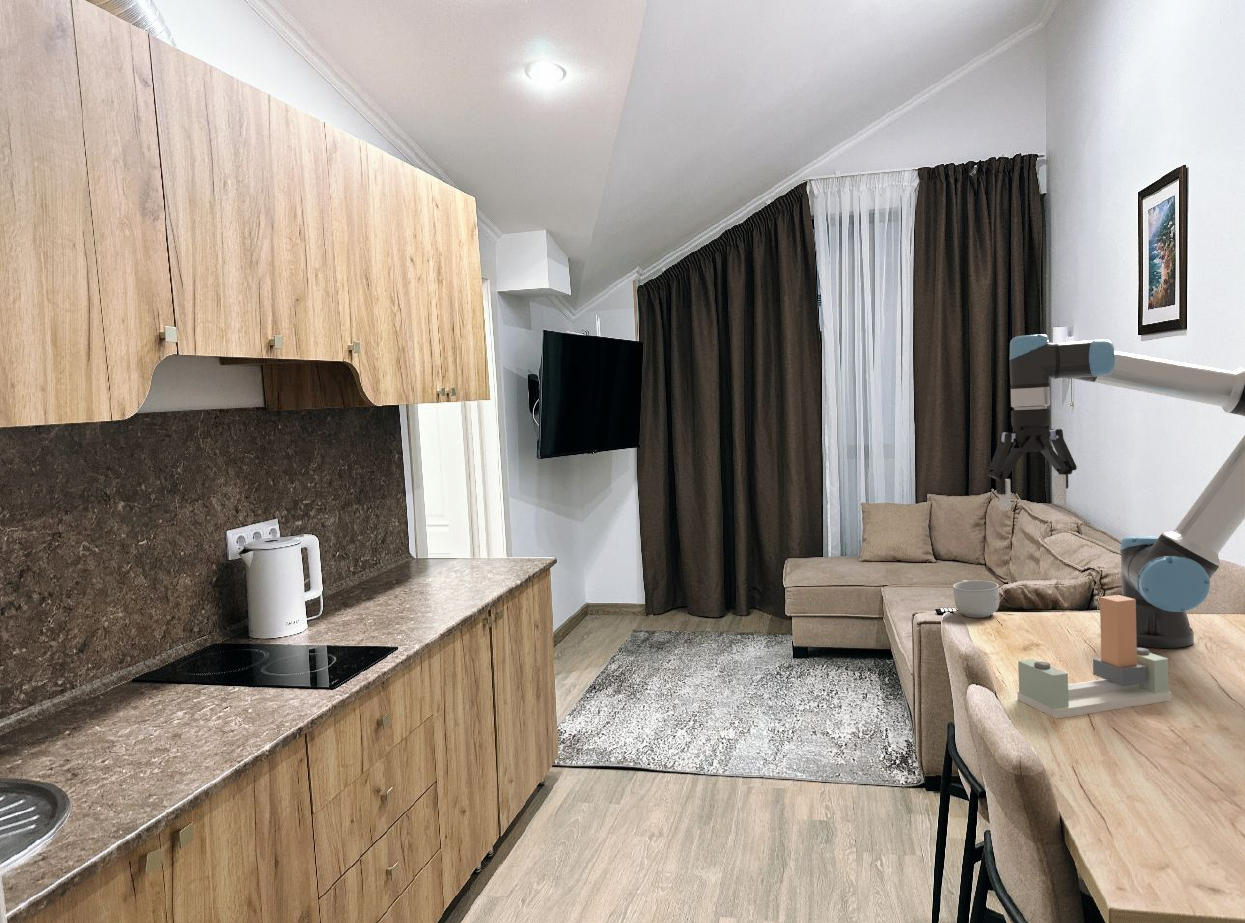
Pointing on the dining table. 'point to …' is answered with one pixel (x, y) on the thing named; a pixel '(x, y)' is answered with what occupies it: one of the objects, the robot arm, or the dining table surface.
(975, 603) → the teacup
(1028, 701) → the rail bed
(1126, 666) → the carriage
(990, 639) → the dining table surface
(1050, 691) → the end cabinets
